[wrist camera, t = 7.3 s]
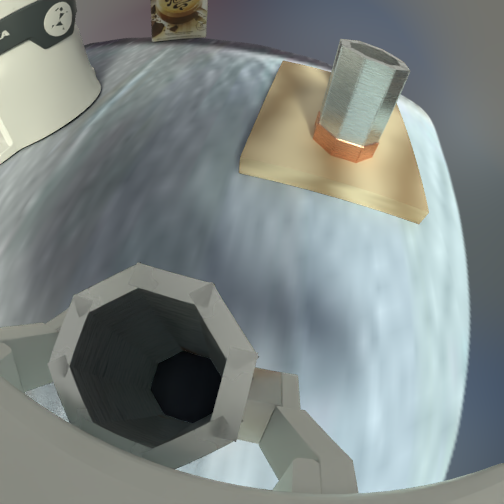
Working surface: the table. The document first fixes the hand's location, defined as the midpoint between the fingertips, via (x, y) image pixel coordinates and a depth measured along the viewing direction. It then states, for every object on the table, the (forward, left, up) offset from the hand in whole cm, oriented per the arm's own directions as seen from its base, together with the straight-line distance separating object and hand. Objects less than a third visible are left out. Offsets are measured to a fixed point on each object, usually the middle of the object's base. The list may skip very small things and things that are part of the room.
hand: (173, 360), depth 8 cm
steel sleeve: (0, -1, -5) cm, 5 cm away
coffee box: (-20, +45, -5) cm, 50 cm away
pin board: (+6, +23, -5) cm, 25 cm away
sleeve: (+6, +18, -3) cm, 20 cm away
